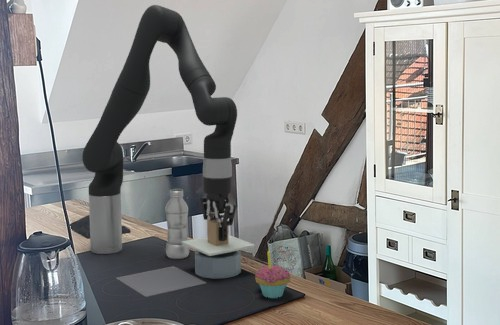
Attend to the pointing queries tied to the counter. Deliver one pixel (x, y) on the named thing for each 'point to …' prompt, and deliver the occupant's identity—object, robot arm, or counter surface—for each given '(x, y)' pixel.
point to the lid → (216, 241)
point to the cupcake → (272, 279)
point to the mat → (160, 281)
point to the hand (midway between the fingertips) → (217, 238)
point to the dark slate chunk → (88, 227)
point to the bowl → (218, 264)
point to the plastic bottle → (176, 225)
